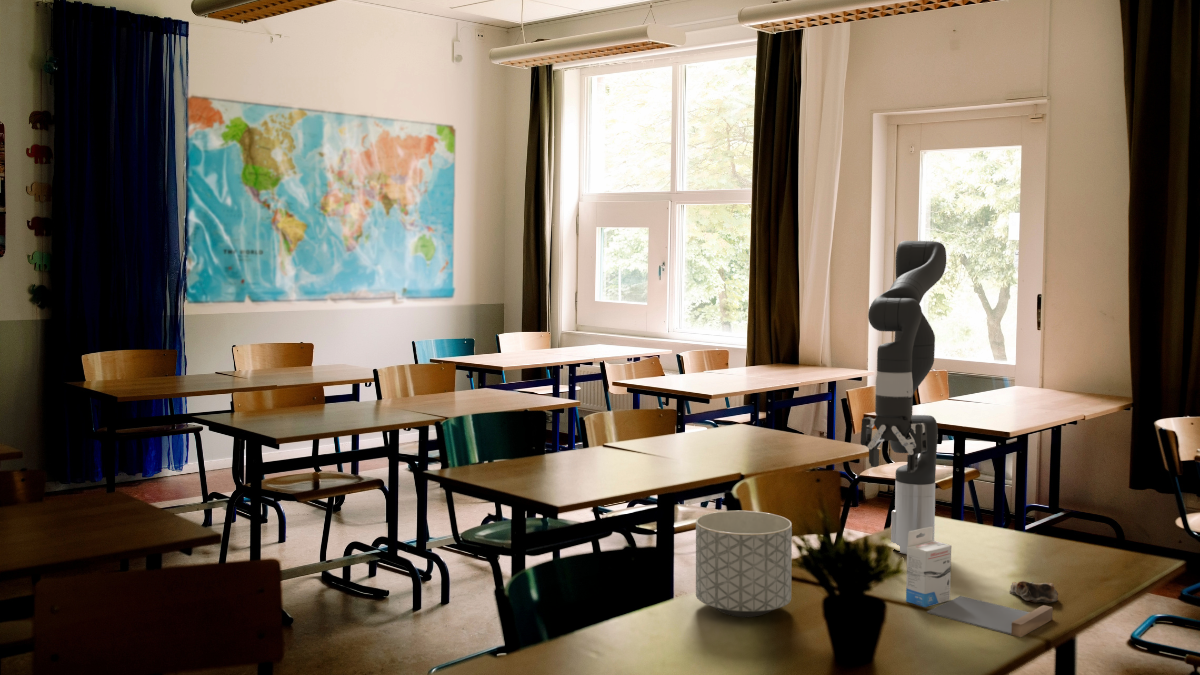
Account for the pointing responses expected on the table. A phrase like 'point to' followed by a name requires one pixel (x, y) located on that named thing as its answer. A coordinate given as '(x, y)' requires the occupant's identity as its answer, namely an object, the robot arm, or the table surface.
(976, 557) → the table surface
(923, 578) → the ink box
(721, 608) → the planter
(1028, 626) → the stop rail
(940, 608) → the mat
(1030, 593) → the rock
